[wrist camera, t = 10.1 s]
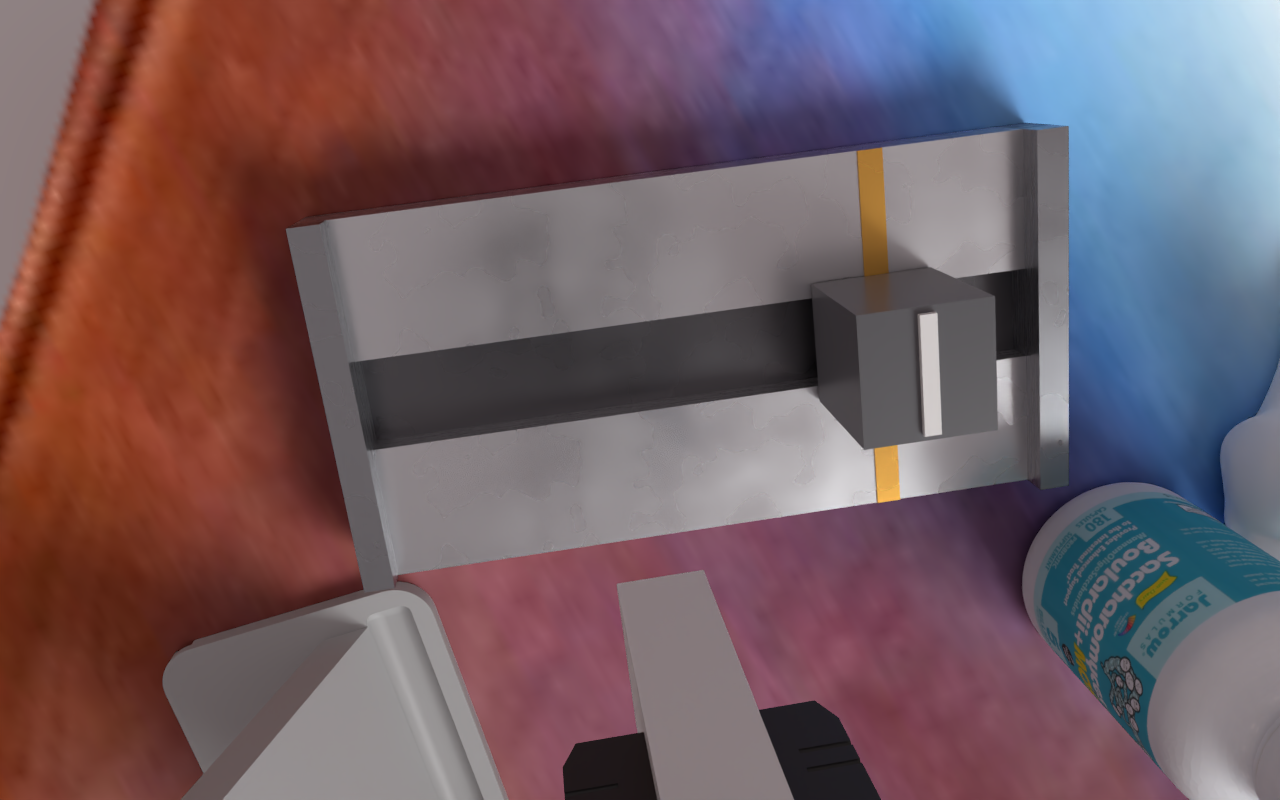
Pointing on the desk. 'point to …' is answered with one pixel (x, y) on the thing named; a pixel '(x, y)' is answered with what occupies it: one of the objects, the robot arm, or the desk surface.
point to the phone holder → (333, 706)
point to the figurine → (1255, 474)
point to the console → (667, 344)
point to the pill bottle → (1167, 632)
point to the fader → (906, 356)
